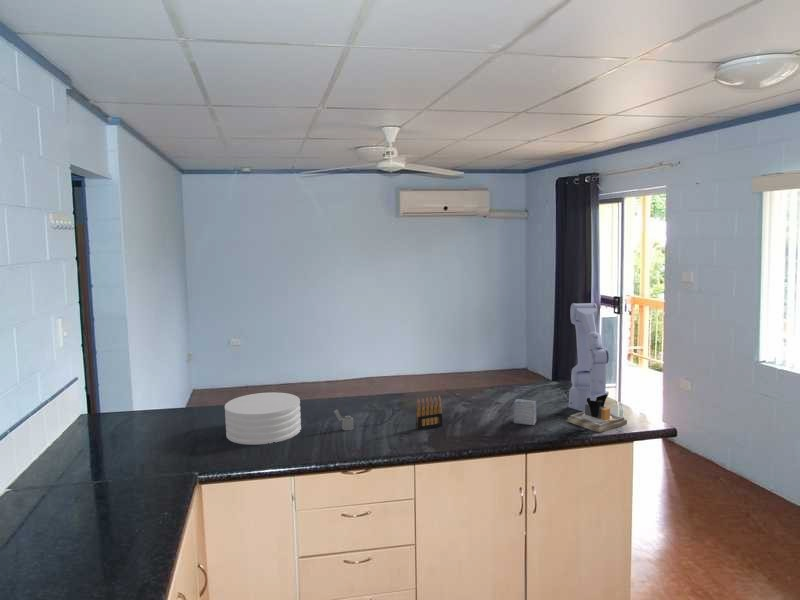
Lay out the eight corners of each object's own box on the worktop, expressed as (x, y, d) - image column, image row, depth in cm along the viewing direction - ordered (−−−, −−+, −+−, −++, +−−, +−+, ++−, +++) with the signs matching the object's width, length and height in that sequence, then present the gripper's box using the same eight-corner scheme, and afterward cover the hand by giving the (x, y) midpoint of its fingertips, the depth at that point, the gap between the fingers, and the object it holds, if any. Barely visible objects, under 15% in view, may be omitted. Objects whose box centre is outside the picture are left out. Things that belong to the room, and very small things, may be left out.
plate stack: (222, 426, 231) (220, 398, 230) (291, 415, 242) (290, 389, 241) (231, 450, 206) (229, 418, 204) (309, 437, 217) (307, 407, 215)
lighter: (353, 428, 225) (352, 408, 224) (353, 429, 223) (352, 409, 222) (334, 429, 224) (333, 409, 223) (334, 431, 222) (334, 410, 221)
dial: (600, 425, 217) (600, 412, 217) (576, 418, 226) (576, 405, 226) (618, 419, 224) (618, 407, 223) (594, 412, 233) (594, 400, 232)
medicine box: (536, 422, 227) (536, 400, 226) (533, 425, 223) (534, 403, 222) (516, 419, 231) (516, 398, 230) (513, 423, 227) (513, 401, 226)
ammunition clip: (440, 424, 227) (440, 394, 226) (442, 425, 225) (442, 395, 224) (415, 428, 223) (415, 398, 222) (417, 430, 221) (417, 399, 220)
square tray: (567, 421, 227) (567, 414, 227) (594, 413, 236) (594, 407, 235) (599, 432, 215) (599, 425, 214) (626, 423, 223) (627, 417, 223)
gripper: (604, 385, 215) (603, 421, 217) (612, 376, 227) (612, 410, 229) (584, 383, 219) (584, 418, 220) (594, 374, 231) (593, 407, 232)
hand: (597, 414), depth 225 cm, fingers open, 7 cm apart
